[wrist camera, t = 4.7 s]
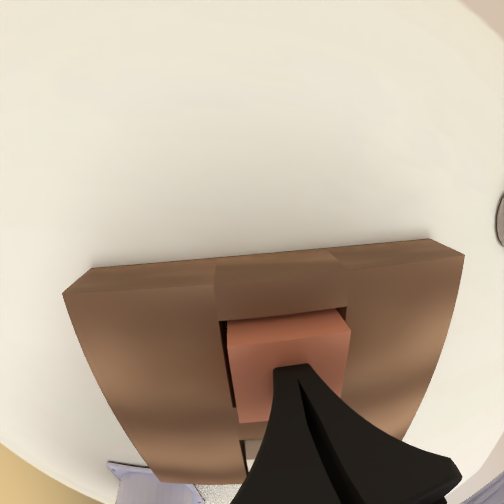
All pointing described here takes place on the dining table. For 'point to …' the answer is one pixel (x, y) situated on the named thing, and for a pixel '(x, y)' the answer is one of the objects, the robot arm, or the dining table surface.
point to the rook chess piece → (501, 221)
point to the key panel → (254, 306)
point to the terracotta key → (283, 354)
